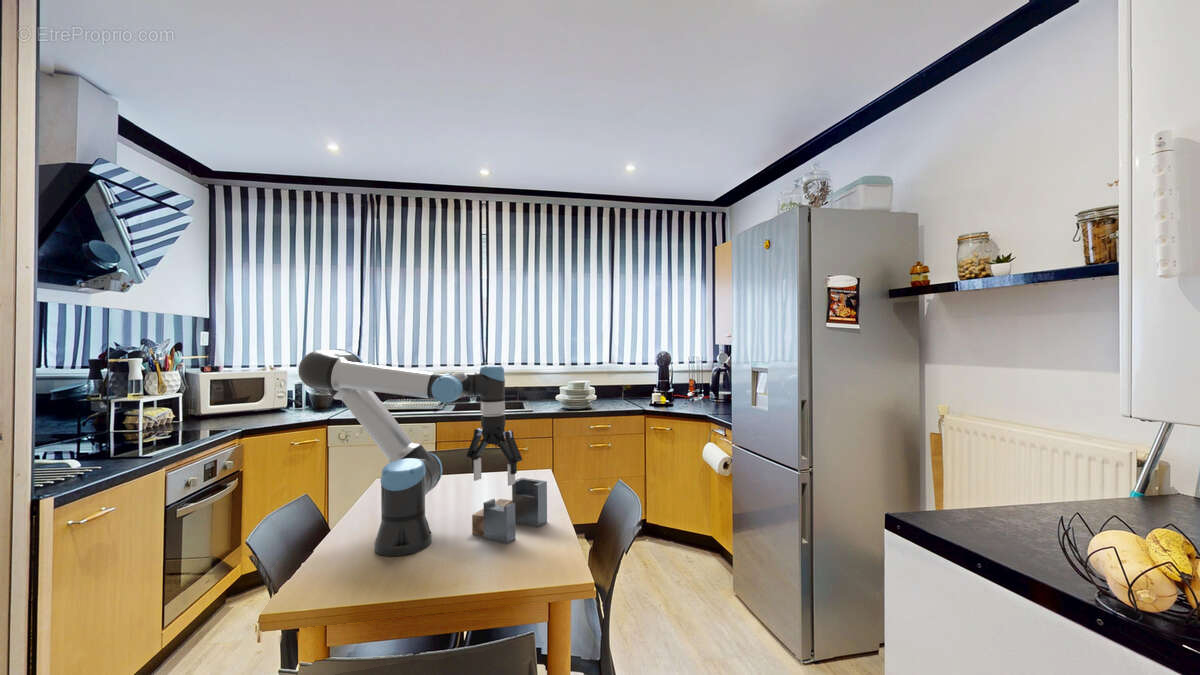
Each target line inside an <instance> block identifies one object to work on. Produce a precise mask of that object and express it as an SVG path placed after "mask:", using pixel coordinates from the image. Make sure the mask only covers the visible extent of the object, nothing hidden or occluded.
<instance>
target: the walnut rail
mask: <svg viewBox="0 0 1200 675" xmlns="http://www.w3.org/2000/svg"><path fill="white" fill-rule="evenodd" d="M510 503H512V499H504V498H498V499H496V500H495V504H496V505H501V506H506V505H508V504H510ZM471 518H472V520H471V521H472V522H471V528H472V529H471V530H472V531H471V534H472V535H474V536H475V535H476V536H482V537H484V507H483V508H482V509H480V510H478V511H477V512H475V513H474V514H473V513H472V515H471Z"/></svg>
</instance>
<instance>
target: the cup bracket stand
mask: <svg viewBox="0 0 1200 675" xmlns="http://www.w3.org/2000/svg"><path fill="white" fill-rule="evenodd" d="M511 491H512V492H511V500H512V503H510V504H508V505H506V506H501V505H496V504H495V501H496V499H495V498H491V499H490V500H489V499H488V500H487V501H485V502H483V508H484V536H483V539H484V540H488V541H492V542H496V543H501V544H505V545H508V544H509V543H511V542H513V541H515V540H516V524H519V525H525V526H530V527H534V528H535V527H536V528H539V527H541V526H543V525H545V524H547V523H548V481H547V480H541V479H540V480H538V479H534V478H533V479H532V478H525V477H520V478H518V479H515V484H513V485H511Z"/></svg>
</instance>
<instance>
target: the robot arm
mask: <svg viewBox="0 0 1200 675" xmlns="http://www.w3.org/2000/svg"><path fill="white" fill-rule="evenodd" d="M297 372H298V376H299V379H300V380H301V381H302V383H303V384H304V385H306V386H307V387H309V388H311V389H314V390H326V391H327V392H328V394H330V396H331V397H332V398H333V399H334V400H340V401H342V403H343V404H344V405H345V406H346V408H347V409H348V410H349V411H350V412H351V414H352V415H353V417H355V419H356V420H357V421H358V423H359V424H360V425H361V426H362V427H363V429H364V430H365V432H366V433H367V434H368V436H369V437H370V438H371V439H372V441H374V443H375V444H376V445H377V447H378V448H379V450H380V451H381V452H382V453H383V454H384V456H385V457H386V458H387V460H388V463H387V464H386V465H385V466H384V467H383V468H382V470H381V475H380V476H381V477H380V495H381V496H380V498H381V499H380V500H381V501H380V503H381V504H380V505H381V508H380V509H381V517H380V518H381V521H380V525H379V528H378V532H377V534H376V535H377V536H376V537H375V540H374V553H376V554H377V555H380V556H385V557H400V556H401V557H402V556H407V555H411V554H412V555H413V554H416V553H417V552H421V551H423V550H425V549H426V548H428V547H429V546H430V545H431V544H432V542H433V541H432V540H433V538H432V536H433V534H432V531H431V529H430V525H429V522H428V520H427V519H428V518H427V517H426V495H427V494H428V493H429V492H430V491H432V490H433V489H434V488H435V487H436V486H437V485H438V483H439V482H440V480H441V478H442V475H443V465H442V461H441V460H440V458H439V456H437V455H436V454H434V453H432V452H428V451H427V450H426V449H425V448H424V446H423V445H422V443H415V442H413V440H412V439H411V438H410V436H409V435H408V434H407V432H406V431H405V429H403V428H402V427H401V425H400V424H399V422H397V420H396V418H394V416H393V415H392V413H391V412H390V411H389V410H388V409H387V407H386V406H385V405H384V403H383V402H382V401H381V400H380V398H379V397H378V395H377V394H376V393H383V394H392V395H399V396H407V397H414V398H415V397H416V398H423V399H430V400H436V401H438V402H440V403H442V404H443V403H452V402H455V401H457V400H458V399H460V398H465V397H480V414H481V417H480V427H478V428H476V429H474V430H473V436H472V440H471V442H470V445H469V448H468V451H467V453H466V456H467V458H470V459H471V467H472V470H473V481H475V482H477V481H480V480H482V458H481V455H482V453H483V452H484V451H485V449H486V448H487V446H488V445H493V446H497V447H499V449H500V450H501V452H502V453H503V455H504V456H505V458H506V459H507V461H508V463H507V486H509V487H511V486H512V485H513V484H515V480H516V474H517V472H518V470H517V469H518V467H517V464H518V463H519V462H521V461H523V457H522V454H521V453H520V450H519V446H518V445H517V443H516V440H515V438H514V431H513V430H507V431H506V430H505V427H506V415H505V413H506V394H505V393H506V391H505V390H506V389H505V387H506V378H505V369H504V367H503V366H502V365H483V366H482V365H481V366H480V368H479V371H477V372H446V373H444V374H443V373H436V372H428V371H420V370H414V369H406V368H398V367H391V366H384V365H376V364H367V363H364V362H363V360H362V358H360V356H359V355H358V354H357V353H355V352H353V351H351V350H347V349H342V348H339V349H338V348H337V349H332V350H331V349H328V350H327V349H326V350H325V349H319V350H314V351H311V352H309V353H308V354H306V355H305V356H304V357H302V359H301V361H300V362H299V364H298V371H297ZM375 392H376V393H375Z"/></svg>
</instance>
